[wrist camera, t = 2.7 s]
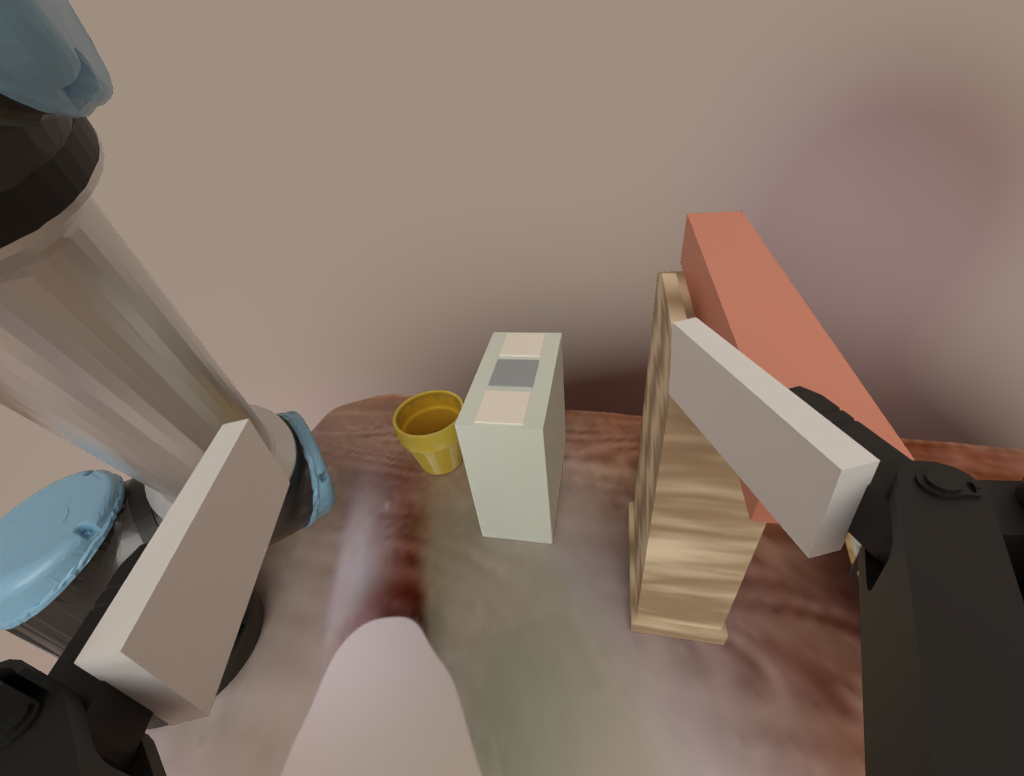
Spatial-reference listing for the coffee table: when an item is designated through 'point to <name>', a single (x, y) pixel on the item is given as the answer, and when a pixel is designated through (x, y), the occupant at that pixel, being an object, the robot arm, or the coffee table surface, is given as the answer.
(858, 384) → the coral square-faced block
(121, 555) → the robot arm
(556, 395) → the pale green paneled block
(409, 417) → the plant pot
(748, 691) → the coffee table surface
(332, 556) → the coffee table surface
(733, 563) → the birch stand
